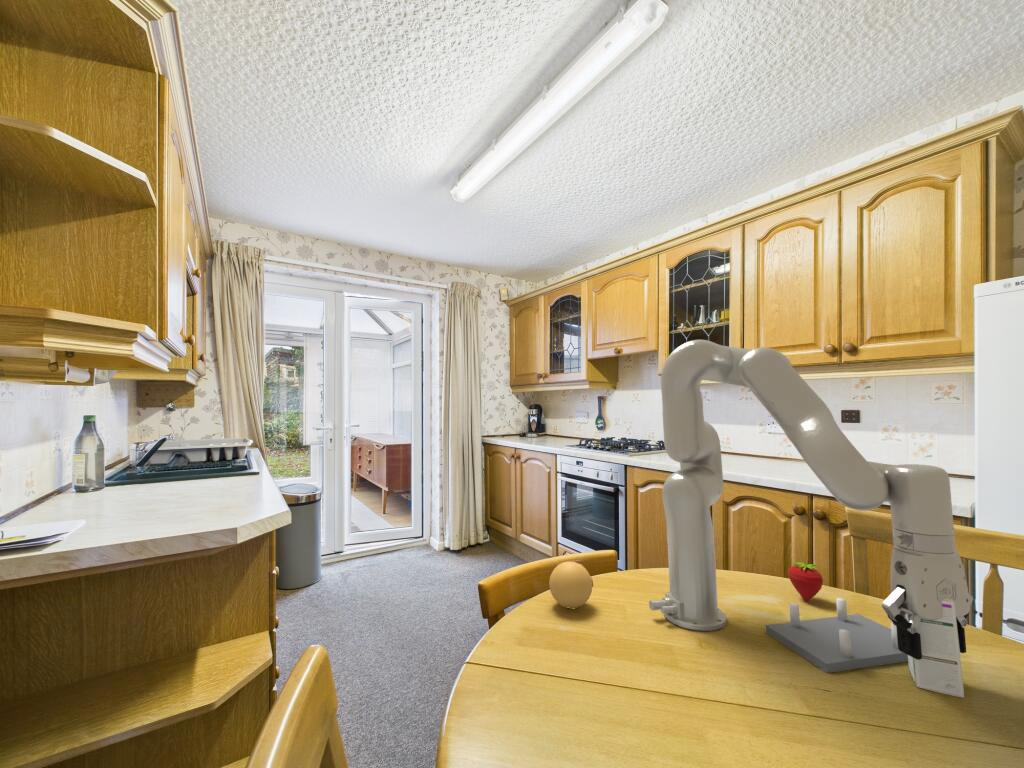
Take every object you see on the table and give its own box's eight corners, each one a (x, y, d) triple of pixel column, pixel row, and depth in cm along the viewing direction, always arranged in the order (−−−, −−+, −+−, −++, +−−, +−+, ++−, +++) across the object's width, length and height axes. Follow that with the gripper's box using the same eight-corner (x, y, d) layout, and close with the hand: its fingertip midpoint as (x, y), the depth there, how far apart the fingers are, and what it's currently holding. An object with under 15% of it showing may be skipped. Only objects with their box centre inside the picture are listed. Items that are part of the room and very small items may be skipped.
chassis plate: (827, 672, 74) (825, 639, 75) (765, 632, 88) (764, 604, 89) (933, 657, 78) (930, 625, 79) (858, 621, 92) (856, 594, 92)
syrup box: (966, 699, 67) (957, 601, 68) (914, 687, 70) (907, 593, 71) (954, 679, 72) (946, 588, 73) (906, 669, 75) (899, 581, 76)
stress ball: (577, 623, 96) (607, 588, 99) (546, 589, 96) (577, 554, 99) (564, 611, 105) (592, 579, 108) (536, 580, 106) (564, 549, 109)
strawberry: (803, 592, 107) (800, 550, 108) (832, 605, 100) (829, 560, 100) (782, 595, 106) (780, 552, 106) (810, 608, 98) (807, 562, 99)
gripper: (903, 552, 67) (912, 671, 66) (993, 543, 70) (1003, 657, 69) (856, 538, 75) (864, 646, 74) (940, 531, 78) (948, 634, 77)
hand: (932, 651), depth 71 cm, fingers closed on syrup box, 8 cm apart
